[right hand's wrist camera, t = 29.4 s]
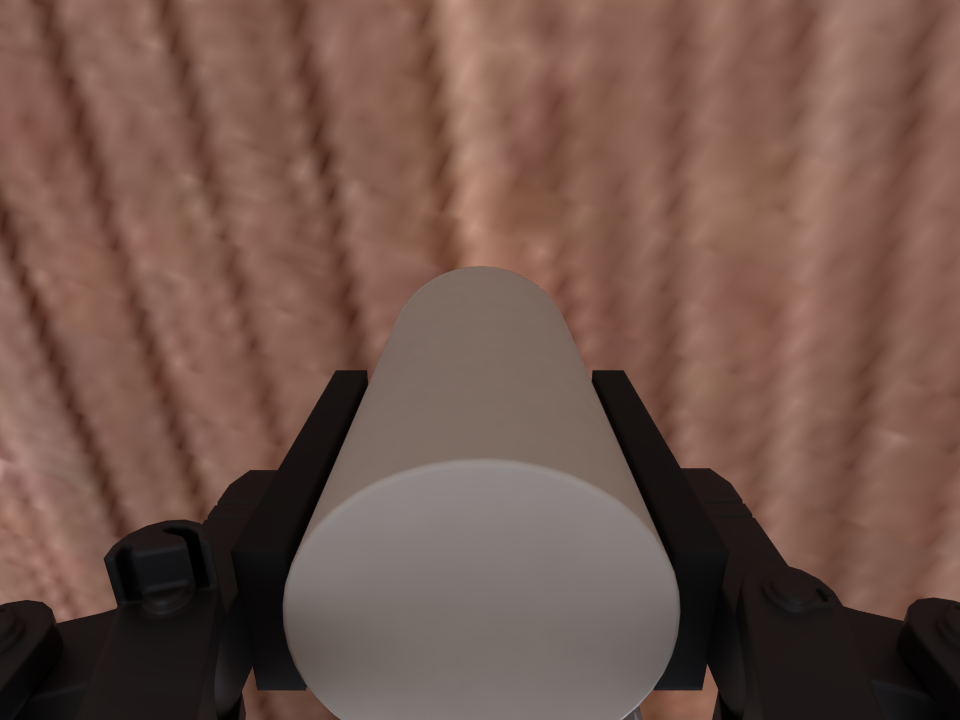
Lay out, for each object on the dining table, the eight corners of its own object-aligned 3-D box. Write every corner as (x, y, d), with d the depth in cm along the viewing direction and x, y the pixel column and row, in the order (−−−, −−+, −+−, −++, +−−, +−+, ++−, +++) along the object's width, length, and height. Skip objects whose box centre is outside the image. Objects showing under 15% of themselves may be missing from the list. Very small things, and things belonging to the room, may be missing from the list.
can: (584, 413, 19) (700, 735, 9) (418, 448, 19) (353, 791, 9) (551, 246, 17) (655, 419, 7) (367, 289, 17) (216, 510, 7)
